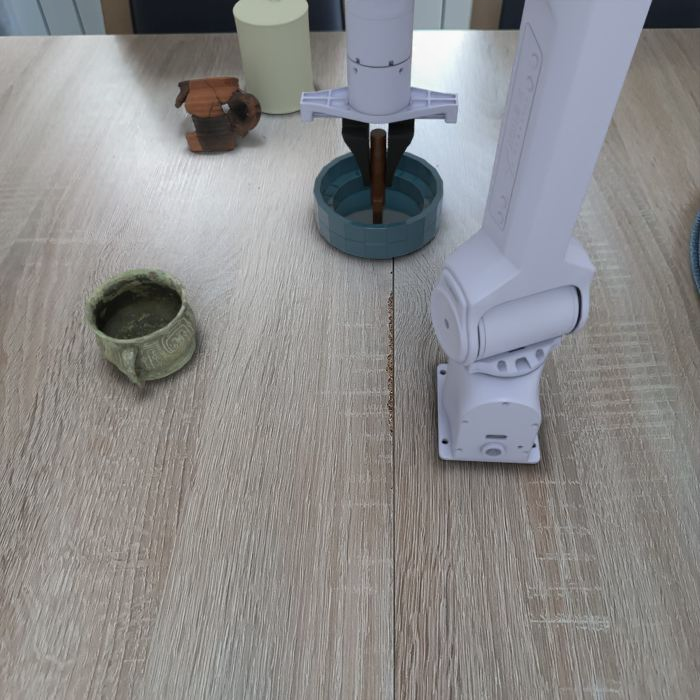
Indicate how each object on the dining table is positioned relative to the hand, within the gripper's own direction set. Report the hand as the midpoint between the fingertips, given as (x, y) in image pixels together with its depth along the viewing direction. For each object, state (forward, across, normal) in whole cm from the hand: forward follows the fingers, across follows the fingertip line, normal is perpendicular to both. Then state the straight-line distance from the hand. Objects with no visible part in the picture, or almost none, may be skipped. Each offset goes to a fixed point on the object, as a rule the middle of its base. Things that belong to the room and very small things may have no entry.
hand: (378, 180), depth 67 cm
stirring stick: (+4, 0, 0) cm, 4 cm away
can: (+5, +14, -25) cm, 29 cm away
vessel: (+5, +20, +19) cm, 28 cm away
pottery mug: (+5, +20, -16) cm, 26 cm away
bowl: (+5, 0, 0) cm, 5 cm away
